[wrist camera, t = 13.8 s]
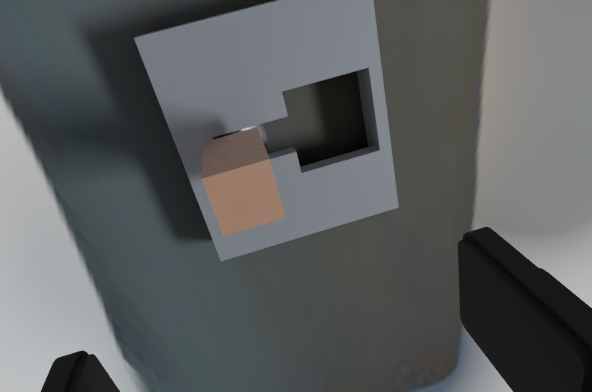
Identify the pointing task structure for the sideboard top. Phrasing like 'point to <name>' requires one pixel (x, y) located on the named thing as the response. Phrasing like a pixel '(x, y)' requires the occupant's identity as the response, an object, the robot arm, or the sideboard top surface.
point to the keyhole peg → (241, 180)
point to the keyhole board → (276, 106)
